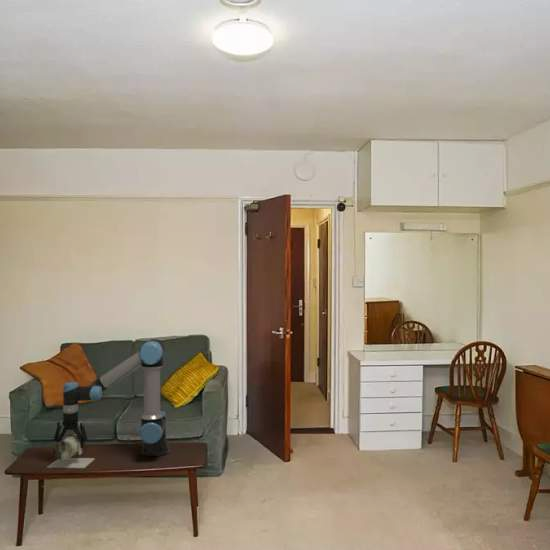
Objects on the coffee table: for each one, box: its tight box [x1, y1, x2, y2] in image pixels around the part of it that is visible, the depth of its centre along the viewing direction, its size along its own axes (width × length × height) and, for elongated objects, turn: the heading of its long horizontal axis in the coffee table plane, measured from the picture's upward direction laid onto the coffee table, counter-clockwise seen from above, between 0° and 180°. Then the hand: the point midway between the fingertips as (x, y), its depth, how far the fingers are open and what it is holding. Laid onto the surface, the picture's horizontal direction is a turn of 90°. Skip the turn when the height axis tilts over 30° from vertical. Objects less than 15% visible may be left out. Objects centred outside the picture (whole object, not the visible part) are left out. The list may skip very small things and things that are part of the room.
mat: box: [46, 457, 96, 469], centre depth 280 cm, size 20×14×1 cm
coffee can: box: [53, 432, 86, 461], centre depth 278 cm, size 10×10×14 cm
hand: (70, 453), depth 279 cm, fingers closed on coffee can, 10 cm apart
